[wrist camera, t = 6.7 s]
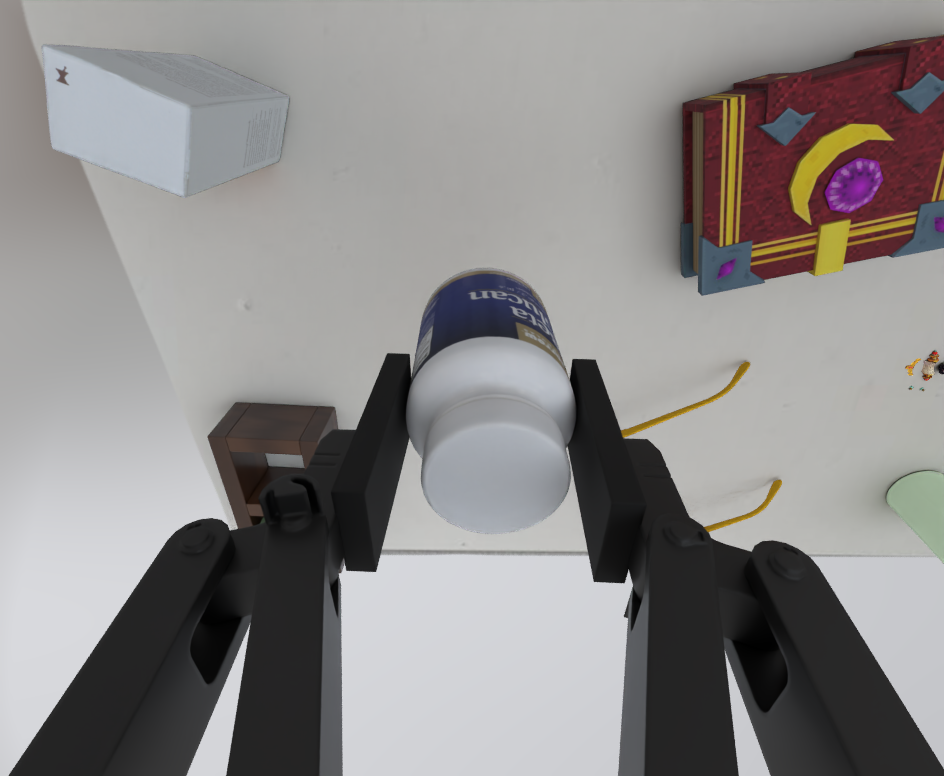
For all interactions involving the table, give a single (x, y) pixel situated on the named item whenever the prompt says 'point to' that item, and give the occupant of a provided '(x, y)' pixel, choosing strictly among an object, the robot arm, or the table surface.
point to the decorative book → (816, 168)
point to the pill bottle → (490, 404)
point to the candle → (921, 507)
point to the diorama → (927, 367)
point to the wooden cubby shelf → (264, 449)
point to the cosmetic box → (161, 116)
